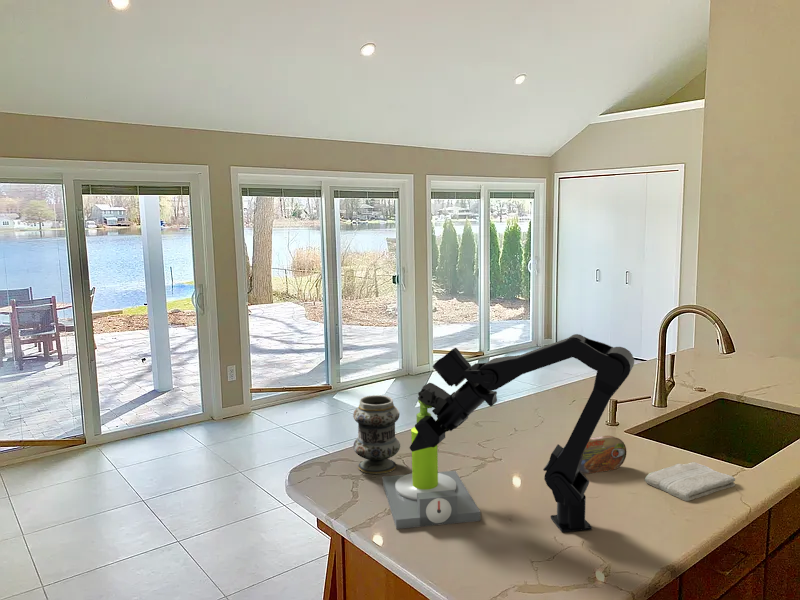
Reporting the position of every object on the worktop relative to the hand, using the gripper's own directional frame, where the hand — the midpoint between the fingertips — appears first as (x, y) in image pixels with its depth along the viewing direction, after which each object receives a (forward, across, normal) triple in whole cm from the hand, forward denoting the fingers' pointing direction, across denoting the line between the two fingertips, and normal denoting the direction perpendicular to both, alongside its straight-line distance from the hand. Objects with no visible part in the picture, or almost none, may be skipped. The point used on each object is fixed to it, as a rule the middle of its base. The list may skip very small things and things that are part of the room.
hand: (419, 442), depth 145 cm
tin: (-15, -31, +34) cm, 48 cm away
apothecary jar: (+21, -10, -3) cm, 24 cm away
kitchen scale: (+7, +2, +11) cm, 13 cm away
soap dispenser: (+6, 0, +8) cm, 10 cm away
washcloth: (-30, -31, +49) cm, 65 cm away
